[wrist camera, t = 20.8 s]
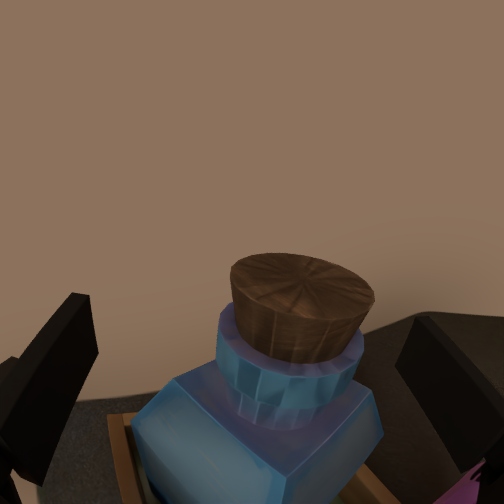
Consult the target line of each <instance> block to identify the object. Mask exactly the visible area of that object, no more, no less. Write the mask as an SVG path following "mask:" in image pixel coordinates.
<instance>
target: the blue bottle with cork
mask: <svg viewBox="0 0 504 504" xmlns="http://www.w3.org/2000/svg"><path fill="white" fill-rule="evenodd" d="M230 281H231V289H232V297H233V302H232V303H229V304H228V305H227V307H226V308H225V309H224V310H223V311H222V312H221V314H220V319H219V325H218V335H217V347H216V359H215V360H213V361H211V362H209V363H207V364H204V365H202V366H200V367H198V368H195V369H193V370H191V371H189V372H186V373H184V374H182V375H179V376H177V377H175V378H173V379H172V380H171V381H170V382H169V383H168V384H167V385H166V386H165V387H164V388H163V389H162V390H161V391H160V392H159V393H158V394H157V395H156V396H155V397H154V398H153V399H152V400H151V401H150V402H149V403H148V404H147V405H146V406H145V407H144V408H143V409H142V410H141V411H139V412H138V413H137V414H136V415H135V416H134V417H133V418H132V419H131V420H130V422H131V426H132V430H133V434H134V438H135V441H136V445H137V448H138V452H139V455H140V458H141V462H142V465H143V468H144V471H145V474H146V477H147V480H148V483H149V486H150V489H151V491H152V492H153V494H154V495H155V496H156V497H157V498H158V500H159V501H160V502H161V503H162V504H329V503H330V502H331V501H332V500H333V499H334V498H335V497H336V495H337V494H338V493H339V492H340V491H341V490H342V489H343V487H344V486H345V485H346V484H347V483H348V482H349V480H350V479H351V478H352V477H353V475H354V474H355V473H356V472H357V470H358V469H359V468H360V467H361V465H362V464H363V463H364V462H365V460H366V459H367V458H368V456H369V455H370V454H371V452H372V451H373V449H374V448H375V447H376V445H377V444H378V442H379V441H380V440H381V438H382V437H383V435H384V432H383V429H382V425H381V421H380V418H379V414H378V410H377V407H376V403H375V400H374V396H373V393H372V390H371V389H369V388H367V387H365V386H363V385H361V384H360V383H358V382H356V381H354V380H352V378H353V376H354V374H355V371H356V369H357V366H358V364H359V362H360V359H361V357H362V354H363V352H364V337H363V335H362V333H361V331H360V329H359V326H360V325H361V323H362V322H363V320H364V318H365V316H366V315H367V313H368V312H369V310H370V308H371V307H372V305H373V303H374V302H375V298H374V291H373V290H372V289H371V287H370V286H369V285H368V283H367V282H366V281H365V280H363V279H362V278H361V277H359V276H358V275H357V274H355V273H353V272H351V271H349V270H347V269H345V268H343V267H341V266H339V265H336V264H333V263H331V262H328V261H325V260H322V259H317V258H313V257H309V256H304V255H296V254H288V253H265V254H257V255H251V256H248V257H246V258H243V259H240V260H238V261H237V262H236V263H235V264H234V265H233V266H232V267H231V272H230Z"/></svg>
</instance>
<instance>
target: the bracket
mask: <svg viewBox="0 0 504 504" xmlns="http://www.w3.org/2000/svg"><path fill="white" fill-rule="evenodd" d="M484 462H485V461H484ZM484 462H482V463H480V464H478V465H476V466H475V467H473V468H472V469H471V470H470V471H469V472H468V473H467V474H466V475H465V476H464V477H463V478H461V479H460V480H459V481H458V482H457V483H456V484H455V485H454V486H453V487H452V488H450V489H449V490H448V491H447V492H446V493H445V494H444V495H442V496H441V497H440V498H439V499H437V500H436V501H435V502H434V503H433V504H476V502H477V496H478V490H479V483H480V482H476V481H475V480H476V478H477V477H478V476H479V475H480V474H481V473H479V474H478V475H477V476H476V477H475V478H474V479H473V480H470V478H471V475H472V474H473V473H474V472H475V471H476V470H477V469H478V468H479V467H480V466H481V465H482V464H483V463H484Z"/></svg>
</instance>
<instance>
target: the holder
mask: <svg viewBox="0 0 504 504" xmlns="http://www.w3.org/2000/svg"><path fill="white" fill-rule="evenodd" d="M137 413H138V412H135V413H124V414H109V415H107V421H108V428H109V435H110V442H111V448H112V454H113V459H114V465H115V470H116V475H117V479H118V484H119V488H120V493H121V497H122V501H123V504H162V503H161V502H160V501H159V500H158V498H157V497H156V496H155V495H154V494H153V492H152V491H151V489H150V486H149V483H148V480H147V477H146V474H145V471H144V468H143V465H142V462H141V458H140V455H139V452H138V448H137V445H136V441H135V438H134V434H133V430H132V426H131V422H130V420H131V419H132V418H133V417H134V416H135V415H136V414H137ZM329 504H401V503H400V502H399V501H398V500H397V499H396V498H395V496H394V495H393V494H392V493H391V492H390V491H389V490H388V489H387V488H386V487H385V486H384V485H383V484H382V482H381V481H380V480H379V479H378V478H377V477H376V476H375V475H374V474H373V473H372V471H371V470H370V469H369V468H368V467H367V466H366V465H365V464H364V463H363V464H362V465H361V467H360V468H359V469H358V470H357V472H356V473H355V474H354V475H353V477H352V478H351V479H350V480H349V482H348V483H347V484H346V485H345V486H344V487H343V489H342V490H341V491H340V492H339V493H338V494H337V495H336V497H335V498H334V499H333V500H332V501H331V502H330V503H329Z"/></svg>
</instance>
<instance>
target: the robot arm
mask: <svg viewBox="0 0 504 504" xmlns="http://www.w3.org/2000/svg"><path fill="white" fill-rule="evenodd" d="M98 354H99V352H98V347H97V341H96V336H95V330H94V325H93V318H92V312H91V304H90V296H89V295H85V294H78V293H71V294H70V295H69V297H68V298H67V299H66V300H65V301H64V302H63V304H62V305H61V306H60V307H59V308H58V309H57V311H56V312H55V313H54V314H53V315H52V317H51V318H50V319H49V320H48V322H47V323H46V324H45V325H44V327H43V328H42V329H41V330H40V331H39V333H38V334H37V335H36V337H35V338H34V339H33V340H32V342H31V343H30V344H29V346H28V347H27V348H26V350H25V351H24V352H23V354H22V355H21V356H20V358H19V359H18V358H15V357H12V356H11V357H10V358H8V359H7V360H6V361H4V362H3V363H1V364H0V504H22V502H21V500H20V497H19V495H18V492H17V489H16V487H15V484H14V481H13V479H12V478H11V476H10V474H11V471H12V469H14V470H15V471H16V473H17V474H18V475H19V476H20V477H21V478H23V479H25V480H27V481H29V482H32V483H34V484H36V485H39V486H41V487H42V485H43V482H44V479H45V476H46V473H47V471H48V468H49V465H50V462H51V460H52V457H53V454H54V452H55V449H56V447H57V444H58V442H59V439H60V437H61V434H62V432H63V429H64V427H65V425H66V422H67V420H68V418H69V415H70V413H71V411H72V408H73V406H74V404H75V402H76V400H77V397H78V395H79V393H80V391H81V389H82V386H83V384H84V382H85V380H86V378H87V376H88V374H89V372H90V370H91V367H92V366H93V363H94V361H95V360H96V358H97V356H98ZM395 367H396V369H397V370H398V372H399V373H400V375H401V376H402V378H403V379H404V381H405V382H406V384H407V386H408V387H409V389H410V390H411V392H412V393H413V395H414V396H415V398H416V400H417V401H418V403H419V404H420V406H421V407H422V409H423V411H424V412H425V414H426V415H427V417H428V419H429V420H430V422H431V423H432V425H433V427H434V428H435V430H436V432H437V433H438V435H439V437H440V438H441V440H442V442H443V443H444V445H445V447H446V448H447V450H448V452H449V453H450V455H451V457H452V459H453V460H454V462H455V464H456V466H457V467H458V469H459V471H460V473H463V472H465V471H467V470H469V469H471V468H473V467H475V466H476V465H477V464H478V463H479V461H480V460H481V459H482V458H483V457H484V458H485V459H486V461H485V462H484V463H483V464H482V465H481V466H480V467H479V468H478V469H477V470H476V471H475V472H474V473H473V474H472V475H471V478H470V480H473V479H474V478H475V477H476V476H477V475H478V474H479V473H481V474H480V475H479V476H478V477H477V478H476V480H475V481H476V482H480V483H479V490H478V496H477V502H476V504H504V396H503V395H501V394H500V391H499V390H498V389H497V388H495V386H494V384H493V383H492V382H491V381H490V380H489V379H488V378H487V377H486V376H484V375H483V374H482V373H481V372H480V370H479V369H478V368H477V367H476V366H475V365H474V364H473V363H472V362H471V360H470V359H469V358H468V357H467V356H466V355H465V354H464V353H463V352H462V351H461V350H460V348H459V347H458V346H457V345H456V344H455V343H454V342H453V341H452V340H451V339H450V338H449V337H448V336H447V335H446V334H445V333H444V332H443V331H442V330H441V329H440V327H439V326H438V325H437V324H436V323H435V322H434V321H433V320H432V319H431V318H430V317H429V316H421V317H416V318H415V320H414V323H413V325H412V328H411V330H410V333H409V335H408V337H407V340H406V342H405V344H404V347H403V349H402V351H401V353H400V356H399V358H398V360H397V362H396V364H395Z"/></svg>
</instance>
